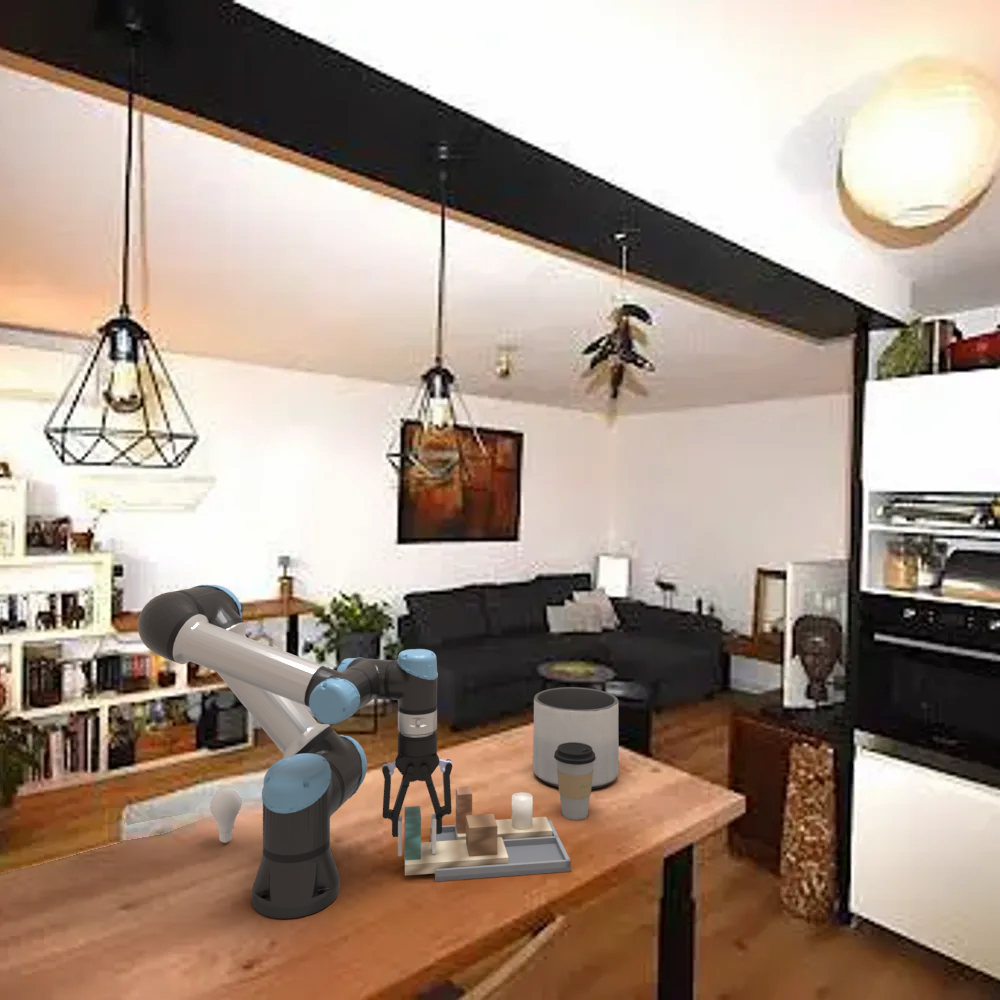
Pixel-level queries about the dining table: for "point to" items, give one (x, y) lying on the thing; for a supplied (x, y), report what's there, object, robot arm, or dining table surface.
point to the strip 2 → (504, 826)
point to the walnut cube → (481, 835)
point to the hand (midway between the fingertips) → (416, 851)
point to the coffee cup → (574, 778)
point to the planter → (576, 730)
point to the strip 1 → (440, 850)
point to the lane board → (512, 858)
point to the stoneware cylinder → (522, 811)
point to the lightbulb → (225, 811)
